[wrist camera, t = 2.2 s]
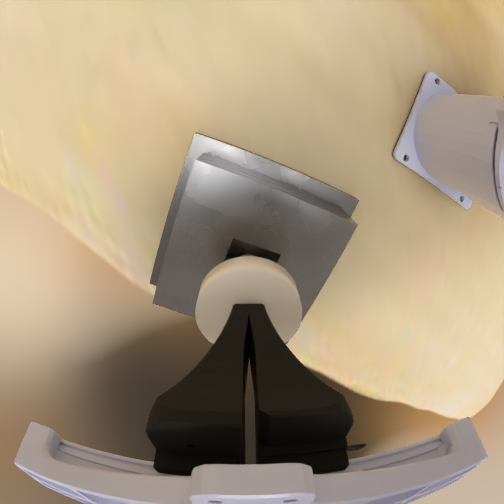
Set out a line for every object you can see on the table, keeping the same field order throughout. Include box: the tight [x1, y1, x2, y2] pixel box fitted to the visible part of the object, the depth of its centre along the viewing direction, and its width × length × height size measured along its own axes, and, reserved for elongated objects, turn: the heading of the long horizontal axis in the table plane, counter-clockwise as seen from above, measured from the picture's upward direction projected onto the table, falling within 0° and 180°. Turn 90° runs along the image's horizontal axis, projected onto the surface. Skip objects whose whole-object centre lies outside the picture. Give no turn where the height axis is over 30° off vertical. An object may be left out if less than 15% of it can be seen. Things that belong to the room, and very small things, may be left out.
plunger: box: [195, 254, 302, 344], centre depth 16 cm, size 5×5×5 cm
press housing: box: [150, 133, 359, 344], centre depth 19 cm, size 12×12×4 cm
